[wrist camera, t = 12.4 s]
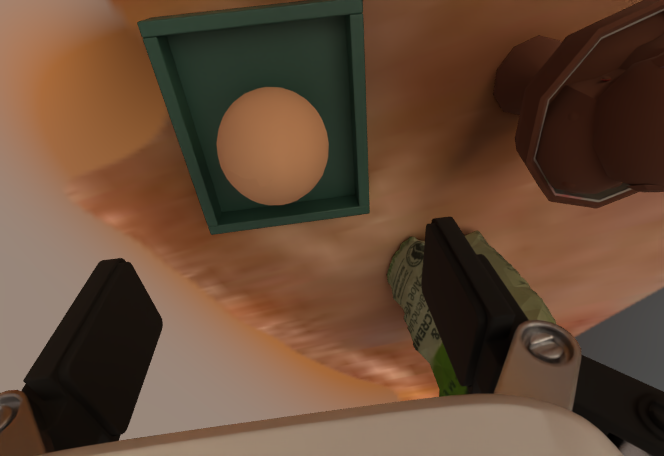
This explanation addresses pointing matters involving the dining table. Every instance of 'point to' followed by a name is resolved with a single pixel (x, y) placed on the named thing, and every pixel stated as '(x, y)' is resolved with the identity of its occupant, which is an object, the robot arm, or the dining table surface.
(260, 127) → the egg
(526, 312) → the pouch
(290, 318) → the dining table surface
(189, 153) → the tray
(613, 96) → the ice cream bowl
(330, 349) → the dining table surface
